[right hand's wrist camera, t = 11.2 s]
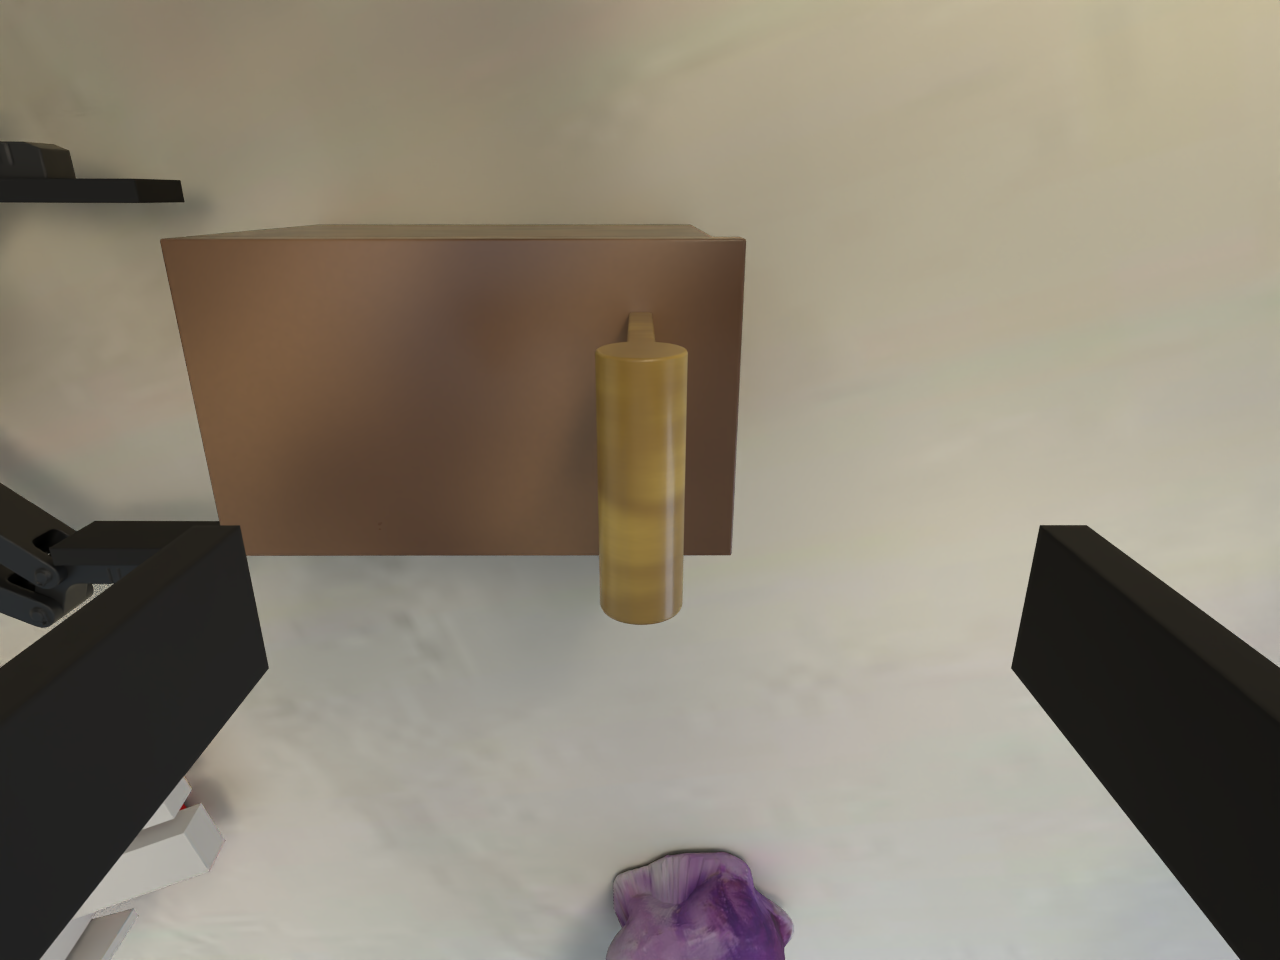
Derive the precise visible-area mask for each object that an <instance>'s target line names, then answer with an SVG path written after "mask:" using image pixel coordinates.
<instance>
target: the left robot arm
mask: <svg viewBox="0 0 1280 960" xmlns="http://www.w3.org/2000/svg"><path fill="white" fill-rule="evenodd" d="M0 202H42V203H162V202H184V197H183V192H182V186H181V181H180V180H155V179H76V177H75V173H74V169H73V165H72V160H71V156H70V152H69V150H66V149H64V148H61V147H59V146H56V145H54V144H43V143H32V142H0ZM193 525H220V522H219V521H94V522H92V523H91V524H89V525H87V526H86V527H84V528H82V529H81V530H79V531H75V530H73V529H72V528H70V527H69V526H67V525H66V524H64V523H62V522H61V521H59V520H58V519H56V518H55V517H53V516H52V515H50V514H48V513H47V512H45V511H44V510H42V509H41V508H39V507H37V506H36V505H34V504H33V503H31V502H30V501H28V500H26V499H25V498H23V497H22V496H20V495H19V494H17V493H15V492H14V491H12V490H11V489H9V488H8V487H6V486H4V485H3V484H1V483H0V613H3V614H5V615H8V616H11V617H13V618H16V619H18V620H21V621H24V622H26V623H29V624H31V625H34V626H37V627H41V628H44V627H49V626H50V625H52V624H53V623H55V622H56V621H58V620H59V619H60V618H62V617H63V616H65V615H66V614H67V613H69V612H70V611H71V610H73V609H74V608H76V607H77V606H78V605H80V604H81V603H82V602H84V601H85V600H86V599H88V598H89V597H90V596H91V595H92V594H93V586H92V584H112V583H114V584H115V583H116V582H117V581H119V580H120V579H121V578H123V577H124V576H125V575H127V574H128V573H130V572H131V571H132V570H134V569H135V568H136V567H138V566H139V565H140V564H142V563H143V562H144V561H146V560H147V559H148V558H150V557H151V556H153V555H154V554H155V553H157V552H158V551H159V550H161V549H162V548H163V547H165V546H166V545H167V544H169V543H170V542H172V541H173V540H174V539H176V538H177V537H178V536H180V535H181V534H182V533H184V532H185V531H186V530H188V529H189V528H190V527H192V526H193ZM48 554H49V555H48Z"/></svg>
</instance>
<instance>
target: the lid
mask: <svg viewBox="0 0 1280 960" xmlns="http://www.w3.org/2000/svg"><path fill="white" fill-rule="evenodd" d="M160 243H161V247H162V252H163V257H164V262H165V266H166V271H167V276H168V281H169V285H170V290H171V295H172V299H173V304H174V309H175V314H176V318H177V323H178V328H179V333H180V337H181V342H182V347H183V352H184V356H185V361H186V366H187V370H188V375H189V380H190V385H191V389H192V394H193V399H194V404H195V408H196V413H197V418H198V423H199V427H200V432H201V437H202V441H203V446H204V451H205V456H206V460H207V465H208V470H209V475H210V479H211V484H212V489H213V494H214V498H215V503H216V508H217V512H218V517H219V522H220V525H240V528H241V533H242V538H243V543H244V547H245V552H246V556H353V555H599V570H600V605H601V608H602V610H603V611H604V613H605V614H606V615H608V616H609V617H611V618H612V619H614V620H617V621H620V622H623V623H628V624H635V625H647V624H655V623H660V622H663V621H666V620H668V619H670V618H672V617H674V616H675V615H676V614H677V613H678V612H679V611H680V609H681V607H682V596H683V555H731V553H732V533H733V512H734V490H735V469H736V448H737V426H738V405H739V383H740V362H741V340H742V319H743V297H744V276H745V254H746V239H744V238H741V237H176V238H165V239H161V240H160Z"/></svg>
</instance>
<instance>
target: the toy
mask: <svg viewBox="0 0 1280 960" xmlns="http://www.w3.org/2000/svg"><path fill="white" fill-rule="evenodd" d="M191 790H192V788H191V786H190V785H189V783H188V782H187V780H186V779H185V777H183V778H182V779H181V781H180V782H179V783H178V784H177V786H176V787H175V788H174V789H173V791H172V792H171V793H170V795H169V796H168V797H167V798H166V800H165V801H164V802H163V803H162V805H161V806H160V807H159V809H158V810H157V811H156V812H155V814H154V815H153V816H152V817H151V819H150V820H149V821H148V823H147V824H146V825H145V826H144V828H143V829H142V830H141V831H140V833H139V834H138V835H137V837H136V838H135V839H134V840H133V842H132V843H131V844H130V845H129V847H128V848H127V849H126V851H125V852H124V853H123V854H122V856H121V857H120V858H119V859H118V861H117V862H116V863H115V865H114V866H113V867H112V868H111V870H110V871H109V872H108V873H107V875H106V876H105V877H104V879H103V880H102V881H101V882H100V884H99V885H98V886H97V887H96V889H95V890H94V891H93V893H92V894H91V895H90V896H89V898H88V899H87V900H86V901H85V903H84V904H83V905H82V907H81V908H80V909H79V910H78V912H77V913H76V914H75V915H74V917H73V918H72V919H71V921H70V922H69V923H68V924H67V926H66V927H65V928H64V929H63V931H62V932H61V933H60V934H59V936H58V937H57V938H56V940H55V941H54V942H53V943H52V945H51V946H50V947H49V948H48V950H47V951H46V952H45V954H44V955H43V956H42V957H41V959H40V960H111V958H112V957H113V955H114V954H115V952H116V950H117V949H118V947H119V946H120V944H121V942H122V941H123V939H124V938H125V936H126V934H127V933H128V931H129V930H130V928H131V927H132V925H133V923H134V922H135V920H136V919H137V917H138V914H137V912H136V911H135V909H134V908H133V909H130V910H126V911H122V912H118V913H114V914H110V915H107V916H103V917H99V918H95V919H92V918H93V916H94V914H95V913H96V911H99V910H102V909H104V908H107V907H110V906H113V905H116V904H119V903H122V902H124V901H127V900H130V899H133V898H136V897H139V896H141V895H144V894H147V893H150V892H153V891H156V890H159V889H161V888H164V887H167V886H170V885H173V884H176V883H179V882H181V881H184V880H187V879H190V878H193V877H196V876H199V875H201V874H204V873H207V872H209V871H210V869H211V867H212V865H213V863H214V862H215V860H216V858H217V856H218V854H219V852H220V850H221V848H222V846H223V844H224V842H225V839H224V838H223V836H222V835H221V833H220V831H219V830H218V828H217V827H216V825H215V824H214V822H213V821H212V819H211V817H210V816H209V814H208V813H207V811H206V810H205V808H204V807H203V805H202V803H200V804H197V805H194V806H191V807H188V808H186V806H185V805H184V802H185V800H186V798H187V797H188V795H189V794H190V792H191Z"/></svg>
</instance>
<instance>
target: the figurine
mask: <svg viewBox="0 0 1280 960" xmlns="http://www.w3.org/2000/svg"><path fill="white" fill-rule="evenodd" d="M613 889H614V890H613V891H614V894H613V895H614V897H613V898H614V900H613V901H614V903H613V904H614V910H615V913H616V915H617V917H618V920H619V922H620V924H621V926H622V929H621V930H620V931H619V932H618V933H617V935H616V936H615V937H614V939H613V941H612V943H611V944H610V946H609V948H608V951H607V955H606V960H785V955H784V947H785V946H786V944H787V943H788V942H789V941H790V940H791V938H792V935H793V932H794V925H793V922H792V919H791V918H790V917H789V915H788V914H787V913H786V912H785V911H784V910H783V909H781V908H780V907H779V906H778V905H776V904H775V903H774V902H772V901H771V900H769V899H767V898H766V897H765V896H763V895H762V894H760V893H759V892H758V891H757V890H756V889H755V888H754V884H753V878H752V874H751V870H750V868H749V867H748V865H747V864H746V863H745V862H744V861H743V860H742V859H739V858H737V857H735V856H733V855H731V854H730V853H726V852H715V853H682V854H675V855H666V856H665V857H663V858H661V859H658V860H656V861H654V862H652V863H650V864H649V865H648V866H644V867H641V868H635V869H633V870H628V871H626V872H624V873H621V874H619V875H617V876H616V879H615V880H614V883H613Z"/></svg>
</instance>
